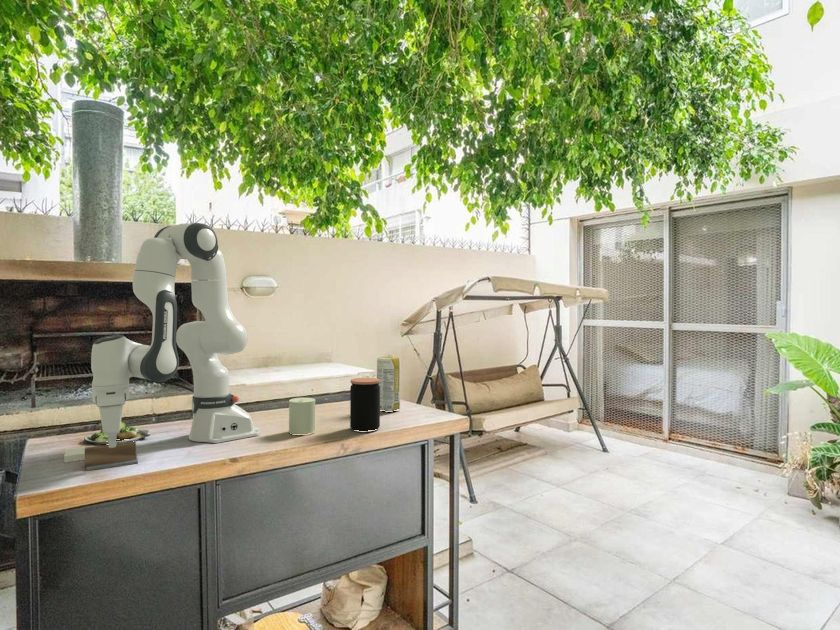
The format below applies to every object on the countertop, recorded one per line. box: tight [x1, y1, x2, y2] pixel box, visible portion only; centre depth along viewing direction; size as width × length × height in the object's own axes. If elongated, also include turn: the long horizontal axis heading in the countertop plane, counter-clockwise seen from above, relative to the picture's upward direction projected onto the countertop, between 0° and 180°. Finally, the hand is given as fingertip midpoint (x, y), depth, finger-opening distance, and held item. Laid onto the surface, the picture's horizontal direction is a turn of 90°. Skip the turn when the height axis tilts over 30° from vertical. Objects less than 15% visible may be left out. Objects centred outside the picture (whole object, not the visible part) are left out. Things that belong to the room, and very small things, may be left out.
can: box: [288, 397, 316, 434], centre depth 173 cm, size 9×9×12 cm
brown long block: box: [84, 441, 137, 467], centre depth 138 cm, size 3×12×4 cm, turn 122°
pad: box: [85, 454, 139, 472], centre depth 138 cm, size 12×7×1 cm, turn 122°
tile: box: [63, 445, 95, 463], centre depth 144 cm, size 7×2×8 cm
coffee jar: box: [349, 377, 381, 431], centre depth 178 cm, size 11×11×18 cm
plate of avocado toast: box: [83, 421, 151, 445], centre depth 164 cm, size 19×18×5 cm
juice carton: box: [376, 353, 401, 411], centre depth 209 cm, size 9×8×24 cm
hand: (112, 442), depth 138 cm, fingers open, 8 cm apart
